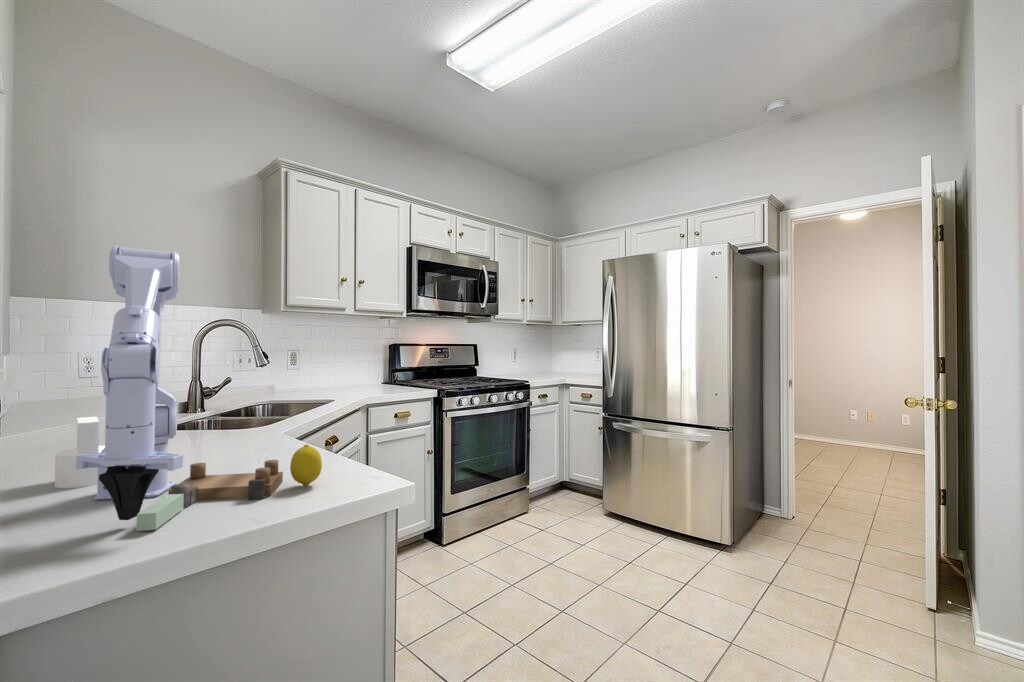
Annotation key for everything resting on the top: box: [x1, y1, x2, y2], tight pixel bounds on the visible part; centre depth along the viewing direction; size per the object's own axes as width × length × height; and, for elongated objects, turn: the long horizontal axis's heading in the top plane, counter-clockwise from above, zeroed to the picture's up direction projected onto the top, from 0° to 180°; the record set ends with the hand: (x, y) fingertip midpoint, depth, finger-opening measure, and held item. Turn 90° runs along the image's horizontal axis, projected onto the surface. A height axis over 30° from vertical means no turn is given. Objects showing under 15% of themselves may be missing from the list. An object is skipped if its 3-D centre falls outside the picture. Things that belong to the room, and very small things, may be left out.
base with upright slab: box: [54, 416, 105, 489], centre depth 93 cm, size 9×9×12 cm
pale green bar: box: [136, 493, 184, 532], centre depth 72 cm, size 9×2×2 cm, turn 14°
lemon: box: [289, 444, 323, 487], centre depth 91 cm, size 6×6×8 cm
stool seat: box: [168, 459, 284, 509], centre depth 85 cm, size 16×13×4 cm
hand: (129, 517), depth 70 cm, fingers closed
